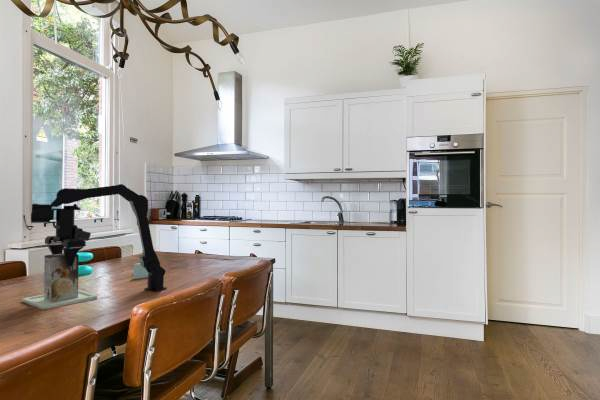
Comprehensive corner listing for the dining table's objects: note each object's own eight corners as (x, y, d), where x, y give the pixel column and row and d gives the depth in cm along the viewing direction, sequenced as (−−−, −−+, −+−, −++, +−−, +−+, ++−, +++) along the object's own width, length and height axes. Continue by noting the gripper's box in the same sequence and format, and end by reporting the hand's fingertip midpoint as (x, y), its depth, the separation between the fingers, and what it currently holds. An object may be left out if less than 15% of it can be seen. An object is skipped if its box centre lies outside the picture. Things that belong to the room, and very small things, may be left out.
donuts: (90, 254, 177) (66, 255, 174) (89, 275, 177) (66, 276, 174) (95, 251, 187) (72, 252, 184) (94, 271, 187) (72, 272, 184)
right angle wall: (146, 273, 189) (146, 258, 189) (158, 276, 181) (158, 261, 181) (122, 276, 179) (122, 261, 179) (134, 280, 172) (134, 264, 172)
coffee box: (70, 294, 140) (71, 252, 140) (78, 297, 137) (79, 254, 137) (43, 299, 133) (44, 255, 133) (50, 302, 129) (51, 256, 129)
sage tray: (97, 298, 138) (97, 295, 138) (42, 309, 123) (42, 306, 123) (76, 291, 147) (76, 288, 147) (22, 301, 132) (22, 298, 132)
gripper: (100, 222, 137) (100, 264, 137) (76, 220, 147) (75, 259, 147) (68, 224, 128) (67, 269, 128) (44, 221, 138) (43, 263, 138)
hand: (64, 264), depth 135 cm, fingers open, 9 cm apart
